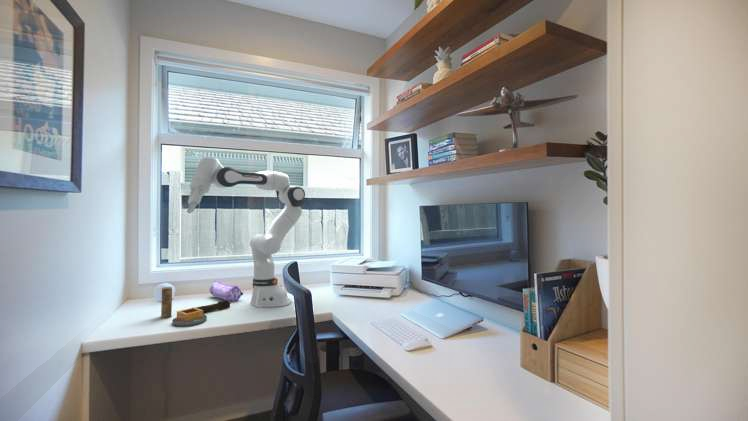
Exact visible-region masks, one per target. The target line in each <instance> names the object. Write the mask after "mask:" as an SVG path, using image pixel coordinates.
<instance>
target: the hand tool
mask: <svg viewBox="0 0 748 421" xmlns="http://www.w3.org/2000/svg"><path fill="white" fill-rule="evenodd" d="M230 307H231V302H229V301H228V300H219V301H218V302H217V303H211V304H207V305H201V306H197V307H195V308H198V309H201V310H203V314H204V313H208V312H211V311H223V310H226V309H229V308H230Z"/></svg>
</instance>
